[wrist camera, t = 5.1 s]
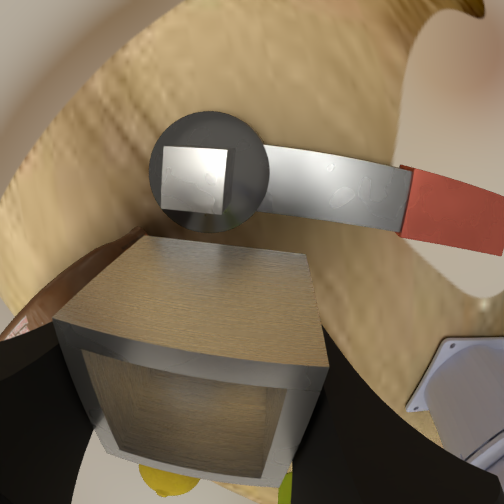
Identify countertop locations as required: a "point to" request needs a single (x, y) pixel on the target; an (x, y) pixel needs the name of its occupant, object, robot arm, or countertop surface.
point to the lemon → (167, 481)
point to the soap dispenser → (285, 490)
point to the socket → (198, 358)
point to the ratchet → (310, 187)
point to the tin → (68, 285)
